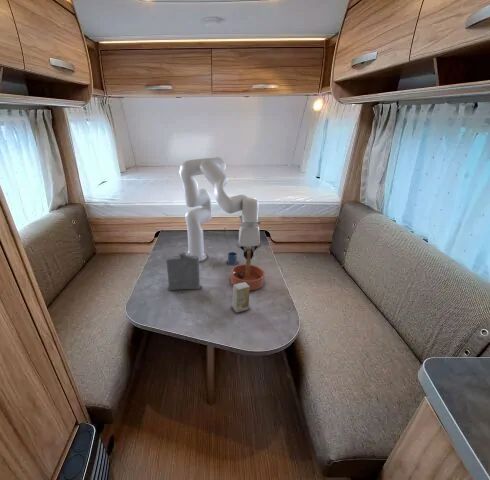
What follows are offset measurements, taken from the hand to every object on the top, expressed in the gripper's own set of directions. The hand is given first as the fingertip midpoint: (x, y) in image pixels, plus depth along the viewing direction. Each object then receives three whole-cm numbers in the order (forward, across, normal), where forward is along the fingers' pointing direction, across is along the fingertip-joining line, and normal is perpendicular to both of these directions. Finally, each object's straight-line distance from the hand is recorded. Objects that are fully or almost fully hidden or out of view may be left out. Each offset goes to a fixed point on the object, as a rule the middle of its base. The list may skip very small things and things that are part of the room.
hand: (248, 257), depth 135 cm
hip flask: (+15, +33, +4) cm, 37 cm away
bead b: (+13, +3, +3) cm, 13 cm away
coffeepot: (+15, -9, -63) cm, 65 cm away
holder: (+15, +6, -22) cm, 27 cm away
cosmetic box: (+15, +6, +22) cm, 27 cm away
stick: (+11, 0, 0) cm, 11 cm away
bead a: (+13, +3, -3) cm, 13 cm away
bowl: (+15, 0, 0) cm, 15 cm away
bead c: (+13, -2, +4) cm, 13 cm away
